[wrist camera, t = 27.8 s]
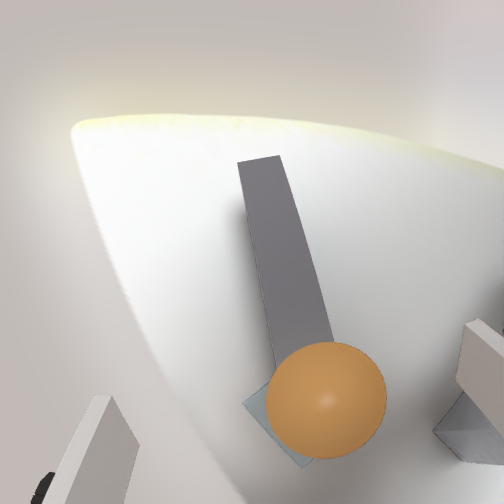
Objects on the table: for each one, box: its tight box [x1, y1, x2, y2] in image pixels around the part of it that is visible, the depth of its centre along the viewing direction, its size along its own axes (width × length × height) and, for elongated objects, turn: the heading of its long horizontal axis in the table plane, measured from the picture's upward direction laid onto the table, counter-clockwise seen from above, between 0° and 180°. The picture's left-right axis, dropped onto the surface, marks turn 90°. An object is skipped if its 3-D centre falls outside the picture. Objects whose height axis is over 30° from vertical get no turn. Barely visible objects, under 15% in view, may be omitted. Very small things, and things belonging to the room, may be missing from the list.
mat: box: [242, 383, 314, 468], centre depth 19 cm, size 6×6×1 cm
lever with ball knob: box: [237, 155, 387, 459], centre depth 18 cm, size 4×18×10 cm, turn 9°
